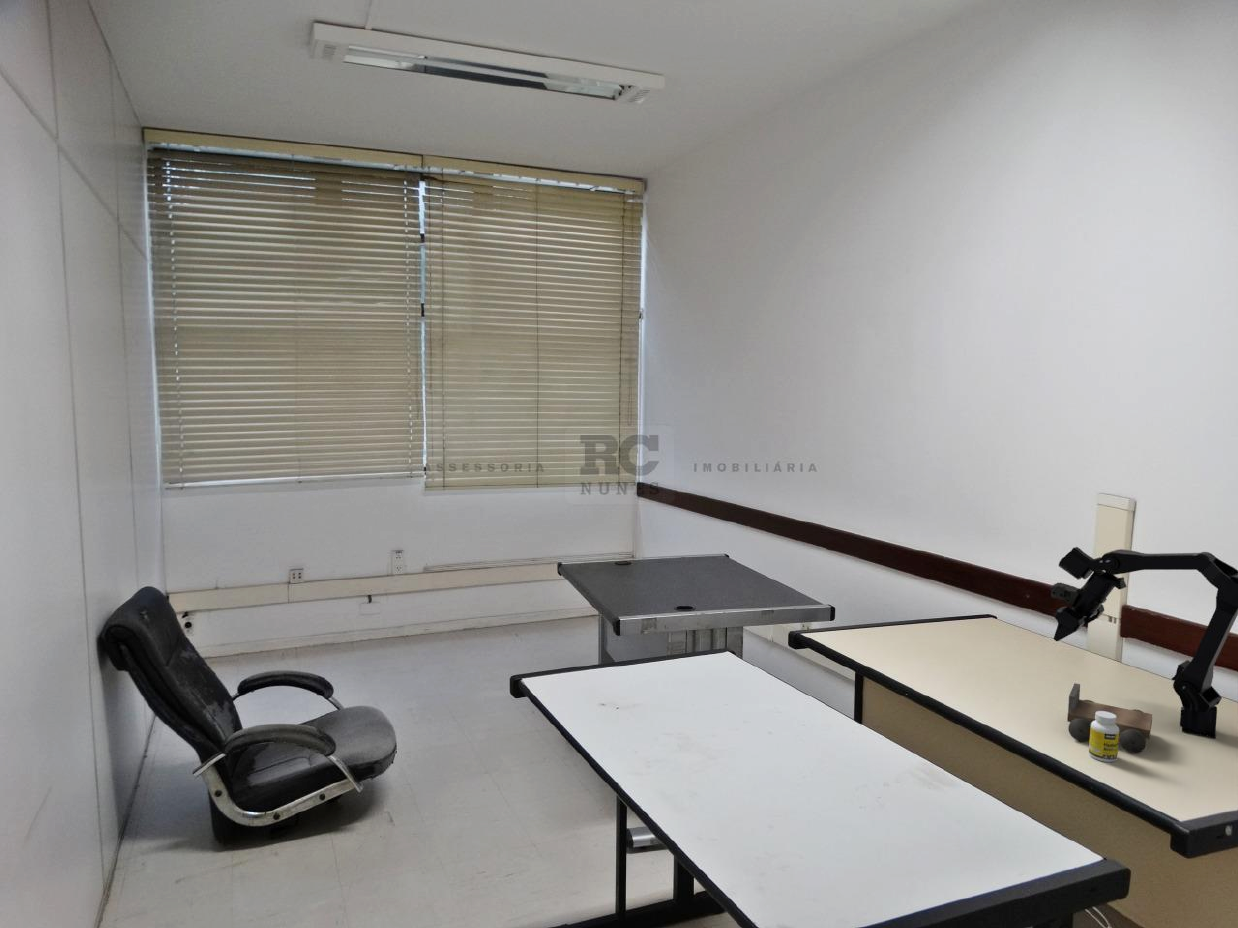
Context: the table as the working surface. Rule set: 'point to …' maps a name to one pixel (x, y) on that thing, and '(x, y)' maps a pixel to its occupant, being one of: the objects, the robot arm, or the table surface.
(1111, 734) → the supplement bottle
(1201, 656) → the robot arm
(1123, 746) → the trolley
